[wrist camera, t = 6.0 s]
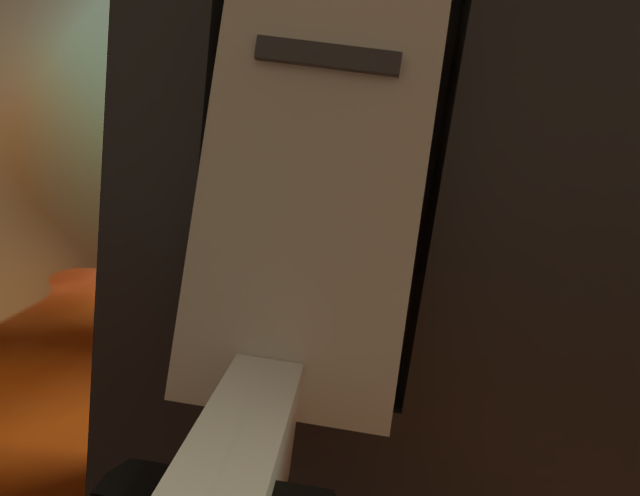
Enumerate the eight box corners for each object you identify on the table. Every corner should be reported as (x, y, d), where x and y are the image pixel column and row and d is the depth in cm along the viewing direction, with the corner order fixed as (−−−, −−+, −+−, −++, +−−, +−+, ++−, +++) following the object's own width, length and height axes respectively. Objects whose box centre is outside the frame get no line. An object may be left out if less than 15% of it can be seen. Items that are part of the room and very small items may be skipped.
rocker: (389, 439, 13) (455, -23, 13) (160, 401, 13) (228, -49, 13) (385, 417, 14) (443, 12, 15) (185, 385, 15) (244, -11, 15)
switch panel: (960, 750, 15) (1330, -91, 11) (71, 582, 17) (108, -205, 13) (667, 438, 31) (778, 37, 27) (217, 366, 32) (255, -23, 28)
